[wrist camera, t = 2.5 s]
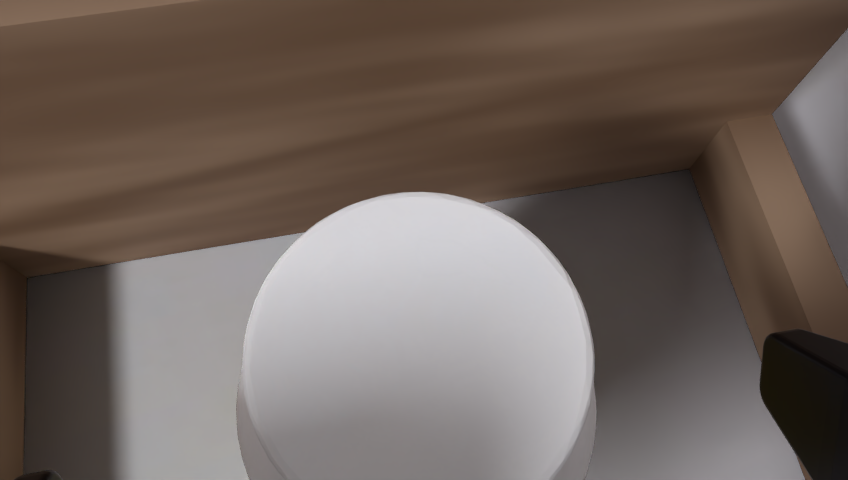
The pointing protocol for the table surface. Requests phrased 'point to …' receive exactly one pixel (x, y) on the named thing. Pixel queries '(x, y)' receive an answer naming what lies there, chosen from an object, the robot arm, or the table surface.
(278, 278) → the supplement bottle
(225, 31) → the brown wooden frame
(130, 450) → the table surface
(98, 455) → the table surface
